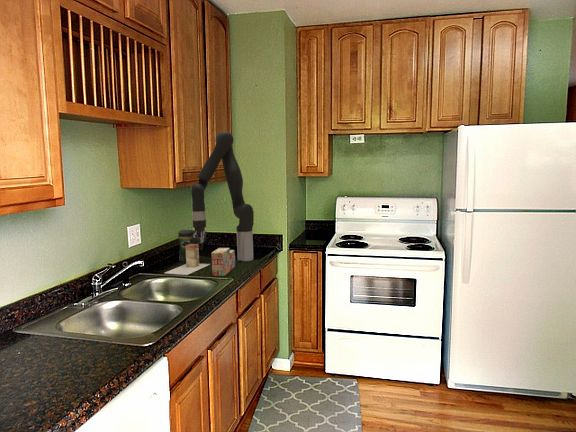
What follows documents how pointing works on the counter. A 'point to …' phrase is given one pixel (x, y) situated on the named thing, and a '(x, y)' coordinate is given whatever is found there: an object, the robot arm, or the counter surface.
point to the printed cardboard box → (222, 261)
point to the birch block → (192, 255)
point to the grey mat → (186, 269)
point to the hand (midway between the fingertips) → (200, 249)
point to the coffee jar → (185, 242)
